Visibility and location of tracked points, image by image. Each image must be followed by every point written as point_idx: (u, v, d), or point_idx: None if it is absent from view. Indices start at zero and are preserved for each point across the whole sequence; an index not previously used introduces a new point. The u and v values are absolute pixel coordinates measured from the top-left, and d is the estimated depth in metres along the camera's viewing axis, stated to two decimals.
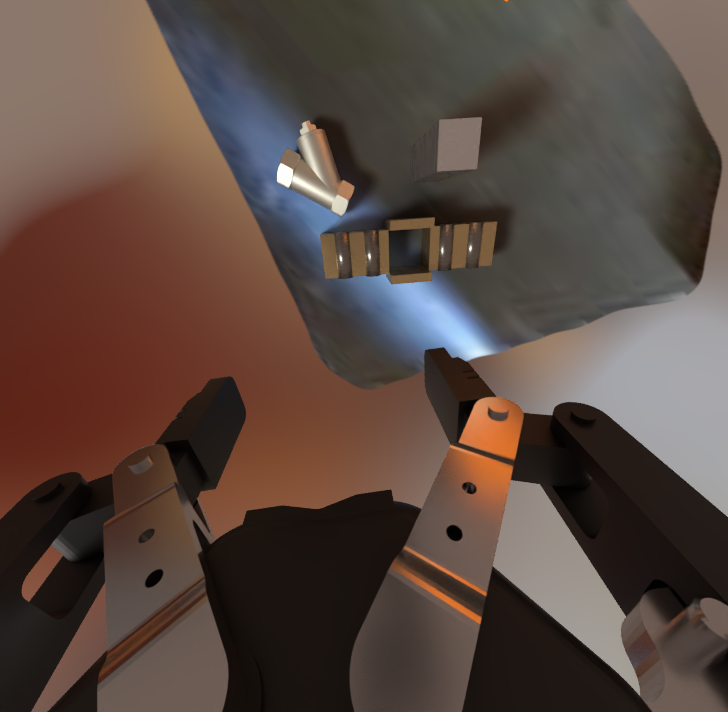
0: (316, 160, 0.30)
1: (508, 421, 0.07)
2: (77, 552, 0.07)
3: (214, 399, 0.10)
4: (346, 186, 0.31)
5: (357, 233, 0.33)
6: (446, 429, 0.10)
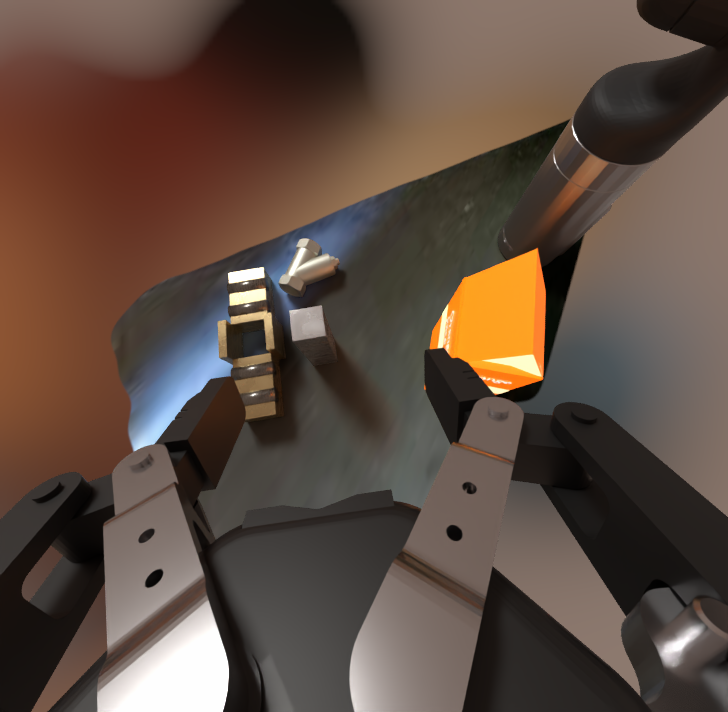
0: (313, 262, 0.41)
1: (508, 421, 0.07)
2: (77, 552, 0.07)
3: (214, 399, 0.10)
4: (299, 284, 0.40)
5: (264, 294, 0.39)
6: (446, 429, 0.10)
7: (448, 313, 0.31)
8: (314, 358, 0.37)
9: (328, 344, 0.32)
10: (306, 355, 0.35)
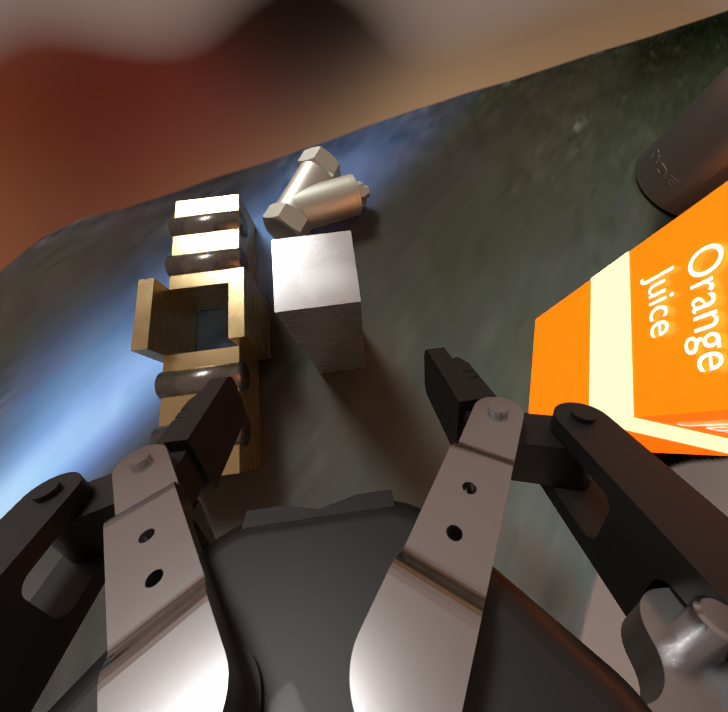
0: (325, 184, 0.23)
1: (508, 421, 0.07)
2: (77, 552, 0.07)
3: (214, 399, 0.10)
4: (298, 220, 0.23)
5: (237, 239, 0.21)
6: (446, 429, 0.10)
7: (644, 266, 0.13)
8: (324, 360, 0.19)
9: (359, 329, 0.14)
10: (309, 352, 0.17)
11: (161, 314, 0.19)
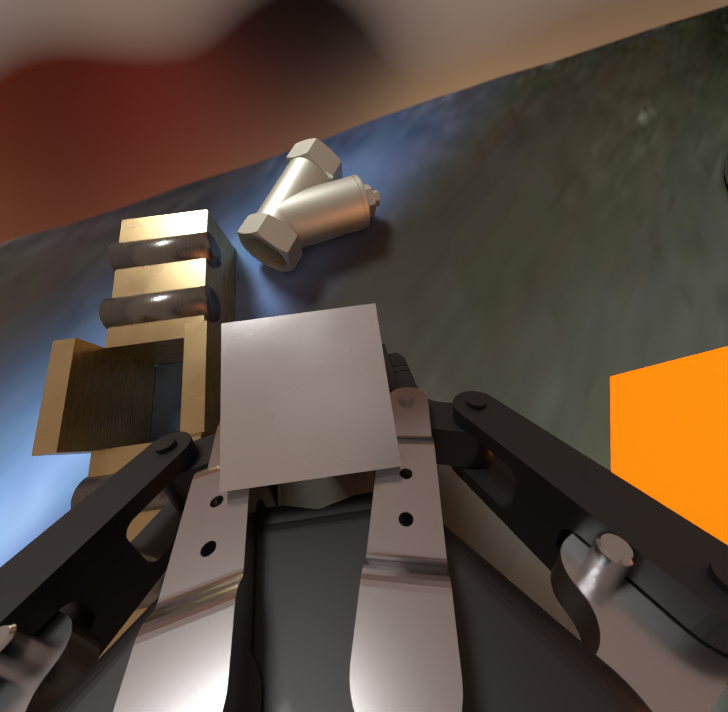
0: (322, 189, 0.17)
1: (411, 407, 0.08)
2: (178, 503, 0.08)
3: None
4: (285, 237, 0.17)
5: (203, 273, 0.15)
6: None
7: None
8: None
9: None
10: None
11: (88, 389, 0.13)
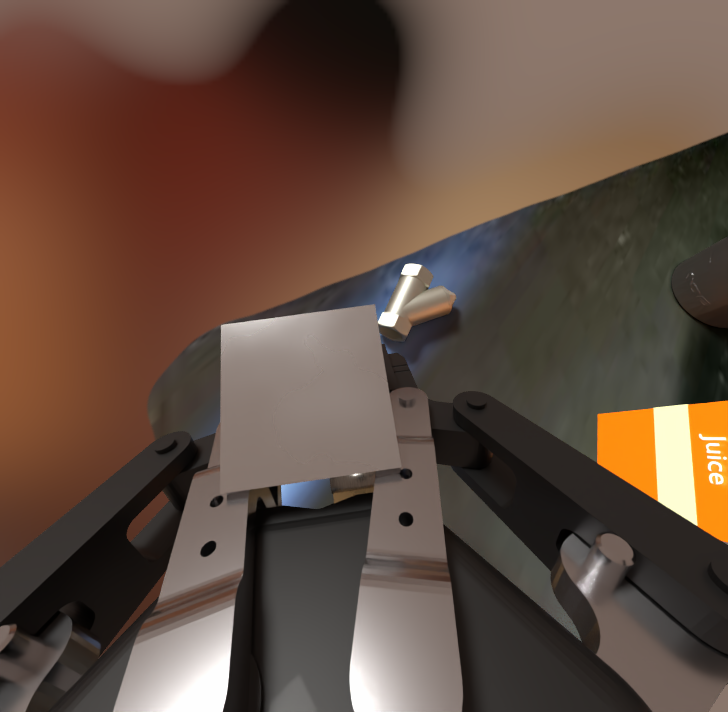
0: (426, 298, 0.30)
1: (411, 408, 0.08)
2: (178, 503, 0.08)
3: None
4: (406, 327, 0.29)
5: None
6: None
7: (701, 424, 0.20)
8: None
9: None
10: None
11: None
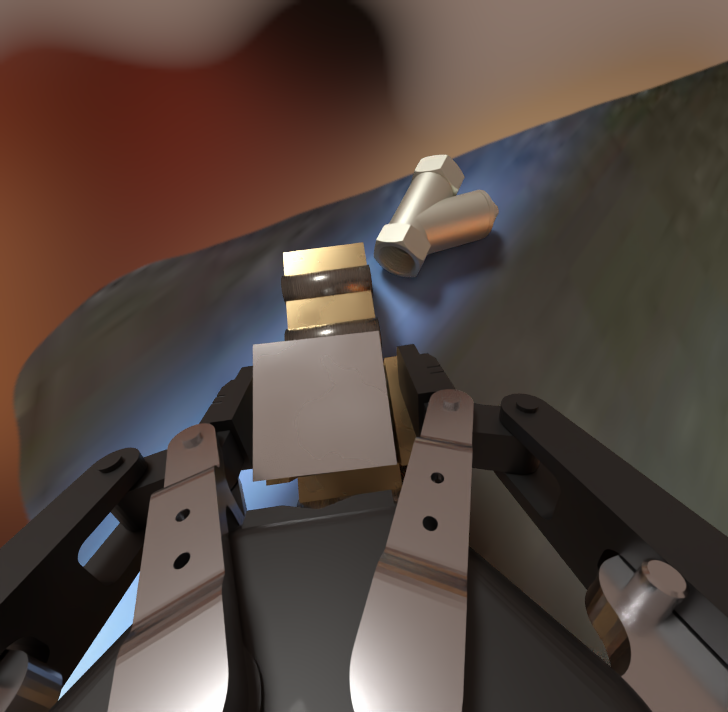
0: (454, 203, 0.19)
1: (458, 411, 0.08)
2: (131, 522, 0.07)
3: (249, 385, 0.10)
4: (422, 246, 0.18)
5: (370, 305, 0.16)
6: (412, 421, 0.10)
7: None
8: None
9: None
10: None
11: None
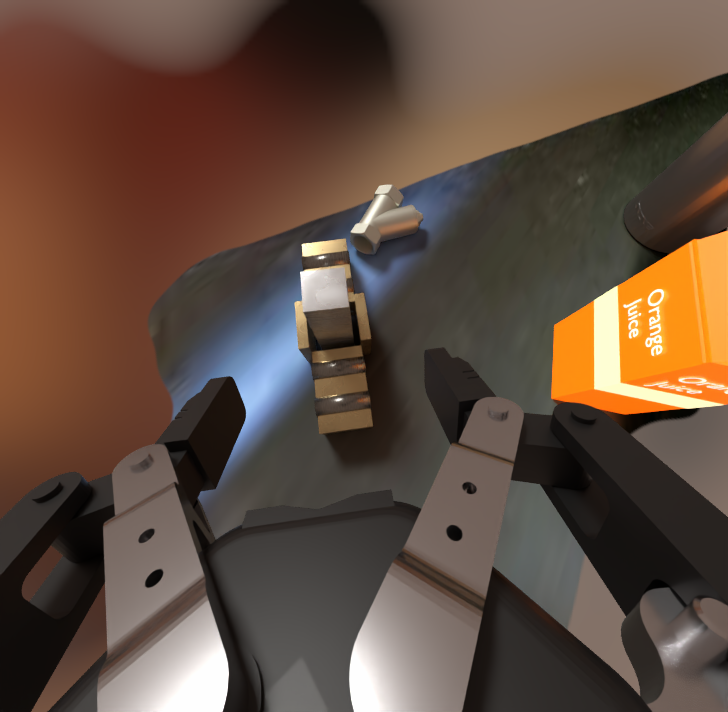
0: (395, 212, 0.33)
1: (508, 421, 0.07)
2: (77, 552, 0.07)
3: (214, 399, 0.10)
4: (375, 236, 0.33)
5: (349, 271, 0.31)
6: (446, 429, 0.10)
7: (626, 296, 0.23)
8: (328, 343, 0.29)
9: (349, 322, 0.24)
10: (318, 337, 0.26)
11: (308, 324, 0.28)
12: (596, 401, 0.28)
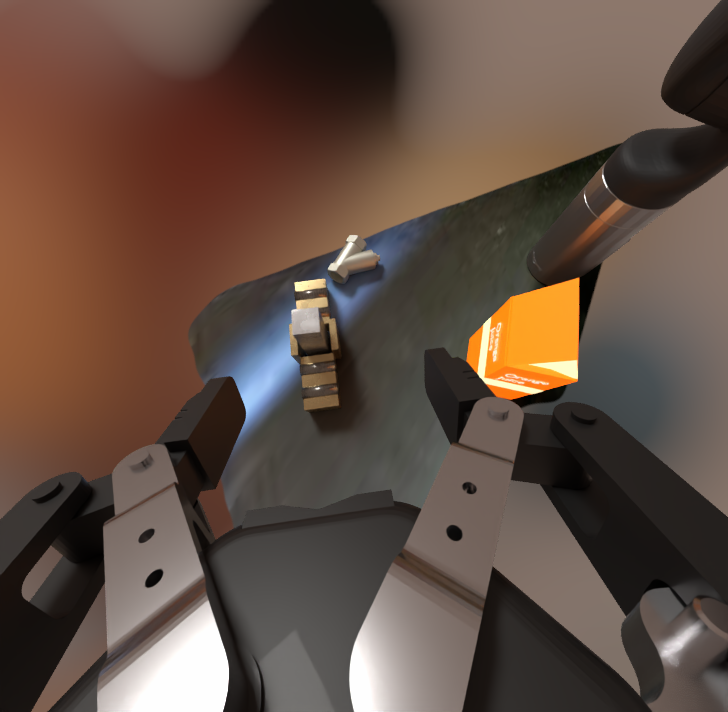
0: (358, 255, 0.48)
1: (508, 421, 0.07)
2: (77, 552, 0.07)
3: (214, 399, 0.10)
4: (344, 272, 0.47)
5: (326, 302, 0.45)
6: (446, 429, 0.10)
7: (492, 324, 0.37)
8: (311, 351, 0.43)
9: (322, 339, 0.39)
10: (304, 347, 0.41)
11: None
12: None
